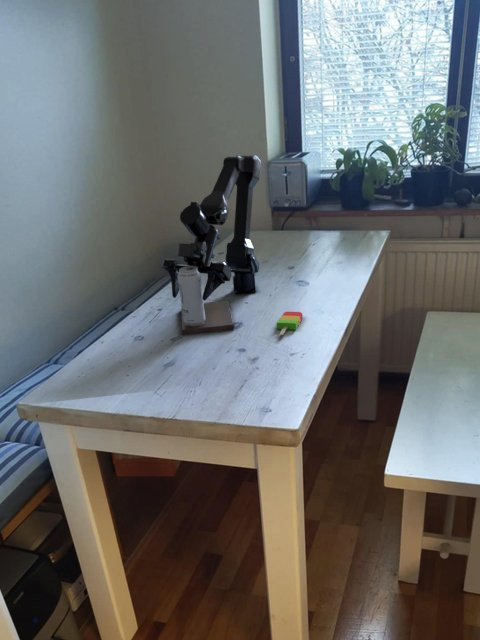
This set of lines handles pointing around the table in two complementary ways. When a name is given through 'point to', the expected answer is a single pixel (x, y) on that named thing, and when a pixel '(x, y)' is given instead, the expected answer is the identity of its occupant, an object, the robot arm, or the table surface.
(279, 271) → the table surface
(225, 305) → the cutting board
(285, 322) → the popsicle
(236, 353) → the table surface
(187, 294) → the energy drink can
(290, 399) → the table surface
